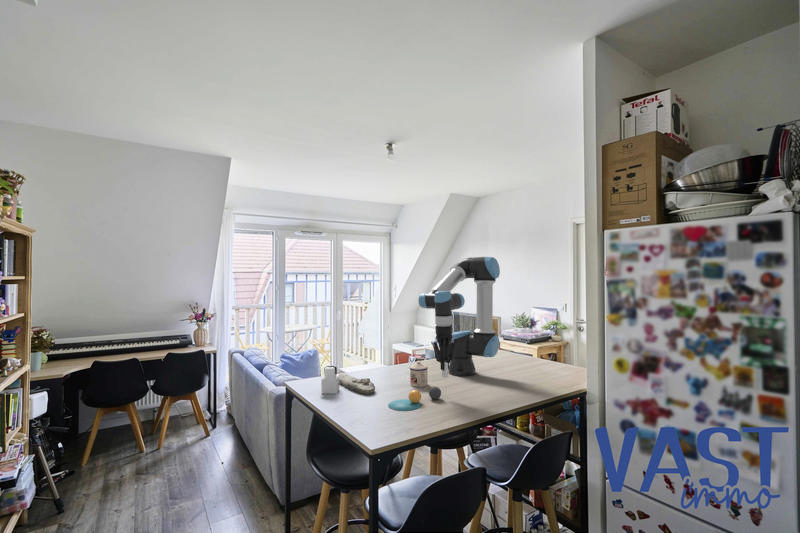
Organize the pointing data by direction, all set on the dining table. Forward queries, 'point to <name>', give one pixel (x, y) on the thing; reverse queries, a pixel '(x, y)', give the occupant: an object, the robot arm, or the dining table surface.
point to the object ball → (414, 396)
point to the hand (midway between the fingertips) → (445, 376)
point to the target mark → (404, 405)
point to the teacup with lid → (418, 375)
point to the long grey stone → (357, 384)
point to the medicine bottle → (330, 380)
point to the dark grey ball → (435, 393)
